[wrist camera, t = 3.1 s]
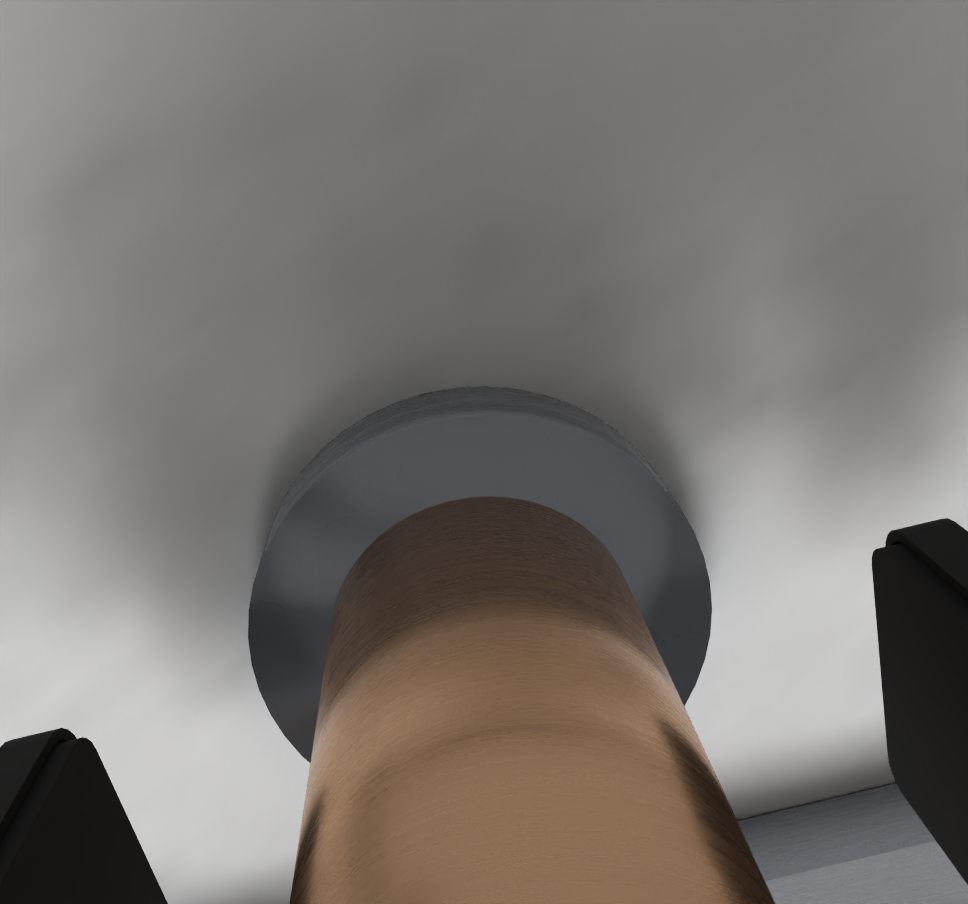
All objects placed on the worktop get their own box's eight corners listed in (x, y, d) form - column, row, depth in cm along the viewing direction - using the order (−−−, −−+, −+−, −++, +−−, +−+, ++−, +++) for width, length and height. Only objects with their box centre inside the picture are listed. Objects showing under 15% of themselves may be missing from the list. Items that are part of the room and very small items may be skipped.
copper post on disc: (203, 446, 12) (-74, 906, 5) (649, 338, 12) (979, 654, 5) (331, 801, 14) (259, 1464, 7) (711, 711, 14) (1003, 1292, 7)
